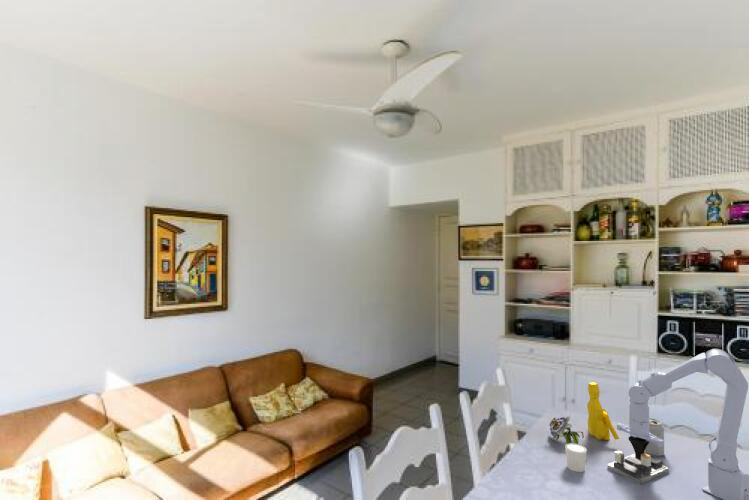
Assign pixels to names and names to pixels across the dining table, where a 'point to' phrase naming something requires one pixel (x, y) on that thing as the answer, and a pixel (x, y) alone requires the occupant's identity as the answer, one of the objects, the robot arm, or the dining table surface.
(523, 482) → the dining table surface
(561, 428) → the passion flower
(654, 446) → the can
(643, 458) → the handle
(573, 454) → the white cylinder
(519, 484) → the dining table surface
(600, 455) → the dining table surface
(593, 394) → the figure statuette
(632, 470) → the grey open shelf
